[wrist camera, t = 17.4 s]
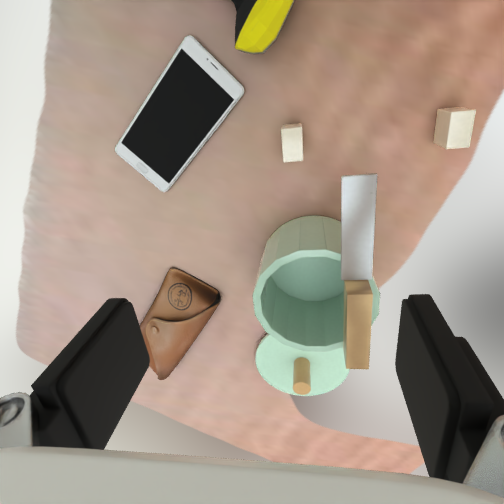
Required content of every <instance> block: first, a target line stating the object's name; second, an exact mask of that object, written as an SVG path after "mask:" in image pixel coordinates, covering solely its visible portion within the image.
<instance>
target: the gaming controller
mask: <svg viewBox="0 0 504 504" xmlns="http://www.w3.org/2000/svg"><path fill="white" fill-rule="evenodd" d="M231 1H232V2H233V3H234V4H235V7H236V11H237V15H236V26H235V48H236V49H237V50H239V51H242V52H244V53H249V54H261V53H264V52H265V51H266V50H267V49H268V48H269V47H270V46H271V45H272V44H273V43H274V41H275V40H276V39H277V37H278V35H279V33H280V31H281V29H282V27H283V24H284V22H285V20H286V18H287V16H288V14H289V12H290V10H291V8H292V5H293V3H294V1H295V0H231Z"/></svg>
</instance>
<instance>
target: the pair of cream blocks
mask: <svg viewBox="0 0 504 504" xmlns="http://www.w3.org/2000/svg"><path fill="white" fill-rule="evenodd" d="M475 113H476V110H474V109H469V108H463V107H453V108H443V109H438V110H437V117H436V125H435V133H434V141H433V143H435V144H437V145H439V146H441V147H443V148H445V149H456V148H468V147H470V141H471V136H472V130H473V124H474V118H475ZM281 138H282V153H283V162H296V161H303V132H302V123H295V124H285V125H283V126H282V128H281Z"/></svg>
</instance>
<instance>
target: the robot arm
mask: <svg viewBox="0 0 504 504" xmlns="http://www.w3.org/2000/svg"><path fill="white" fill-rule="evenodd" d="M149 363H150V357H149V353H148V350H147V347H146V344H145V341H144V338H143V335H142V332H141V329H140V326H139V323H138V320H137V317H136V314H135V311H134V308H133V305H132V303H131V302H128V300H127V299H125V298H111V299H108V300H107V301H106V302H105V303H104V304H103V305H102V307H101V308H100V309H99V310H98V311H97V312H96V313H95V314H94V316H93V317H92V318H91V319H90V320H89V321H88V322H87V323H86V325H85V326H84V327H83V328H82V329H81V330H80V331H79V332H78V334H77V335H76V336H75V337H74V338H73V339H72V340H71V341H70V343H69V344H68V345H67V346H66V347H65V348H64V349H63V350H62V351H61V353H60V354H59V355H58V356H57V357H56V358H55V359H54V360H53V362H52V363H51V364H50V365H49V366H48V367H47V368H46V369H45V371H44V372H43V373H42V374H41V375H40V376H39V377H38V378H37V380H36V381H35V382H34V383H33V384H32V385H31V387H32V388H33V390H34V391H33V392H32V393H31V395H30V396H29V395H28V394H26V393H21V392H18V393H12V394H9V395H6V396H4V397H1V398H0V504H504V399H503V398H502V396H501V394H500V393H499V391H498V390H497V388H496V386H495V385H494V383H493V382H492V380H491V378H490V377H489V375H488V374H487V372H486V370H485V369H484V367H483V366H482V364H481V362H480V361H479V359H478V358H477V356H476V354H475V353H474V351H473V350H472V348H471V346H470V345H469V343H468V342H467V340H466V339H465V338H463V337H455V336H454V335H453V333H452V331H451V329H450V328H449V326H448V325H447V322H446V321H445V319H444V317H443V316H442V314H441V312H440V311H439V309H438V307H437V305H436V304H435V302H434V300H433V299H432V297H431V296H430V295H429V294H420V295H409V297H408V299H403V301H402V307H401V316H400V326H399V334H398V343H397V352H396V362H395V365H396V372H397V376H398V379H399V382H400V385H401V388H402V391H403V395H404V398H405V401H406V404H407V407H408V410H409V413H410V416H411V420H412V423H413V426H414V430H415V433H416V436H417V439H418V442H419V446H420V449H421V452H422V455H423V458H424V461H425V465H426V468H427V471H428V474H429V476H430V477H425V476H418V475H411V474H404V473H394V472H383V471H373V470H363V469H352V468H342V467H329V466H317V465H304V464H292V463H279V462H266V461H254V460H240V459H227V458H213V457H199V456H186V455H185V456H184V455H171V454H157V453H144V452H128V451H113V450H104V448H105V446H106V445H107V443H108V441H109V439H110V437H111V435H112V433H113V432H114V429H115V428H116V426H117V424H118V422H119V420H120V419H121V417H122V415H123V413H124V411H125V409H126V408H127V406H128V404H129V402H130V400H131V398H132V396H133V395H134V393H135V391H136V389H137V387H138V385H139V384H140V382H141V380H142V378H143V376H144V374H145V372H146V371H147V369H148V367H149Z"/></svg>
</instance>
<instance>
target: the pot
mask: <svg viewBox="0 0 504 504" xmlns="http://www.w3.org/2000/svg"><path fill="white" fill-rule="evenodd" d="M368 281H369V284H370V287H371V290H372V293H373V303H372V321H371V326H372V324H373V322H374V321H375V319H376V318H377V316H378V314H379V303H380V292H379V289H378V286H377V283H376V281H375V278H374V275H373V272H372V280H368ZM253 303H254V311H255V316H256V317H257V319H258V320H259V322H260V323H261V325H262V326H263V328H264V330H265V331H266V332H267V333H268V334H270V335H271V336H272V337H274V338H275V339H277V340H278V341H279V342H281V343H282V344H284V345H287V346H290V347H293V348H296V349H299V350H302V351H321V352H327V351H331V350H335V349H338V348H342V347H343V324H344V280H341V222H340V221H338V220H335V219H333V218H329V217H325V216H303V217H299V218H296V219H293V220H290V221H289V222H287V223H285V224H283V225H282V226H280V227H279V228H278V229H277V230H276V231H275V232H274V233H273V234H272V235H271V236H270V238H269V239H268V241H267V243H266V246H265V249H264V252H263V255H262V258H261V262H260V266H259V270H258V275H257V279H256V283H255V287H254V291H253Z"/></svg>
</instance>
